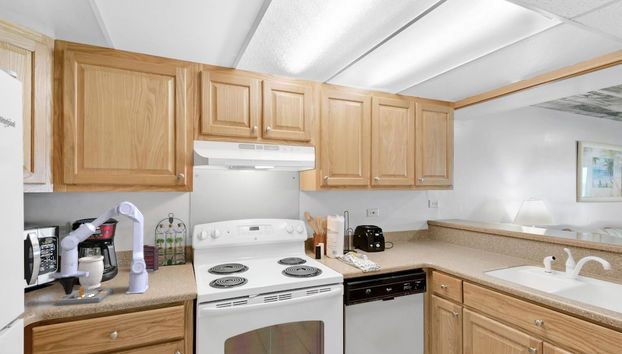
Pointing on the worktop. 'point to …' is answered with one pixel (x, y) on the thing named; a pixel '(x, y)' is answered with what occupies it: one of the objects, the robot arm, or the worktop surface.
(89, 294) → the dial
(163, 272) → the worktop surface
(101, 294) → the dial board
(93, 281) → the jar
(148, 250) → the supplement box
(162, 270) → the worktop surface
